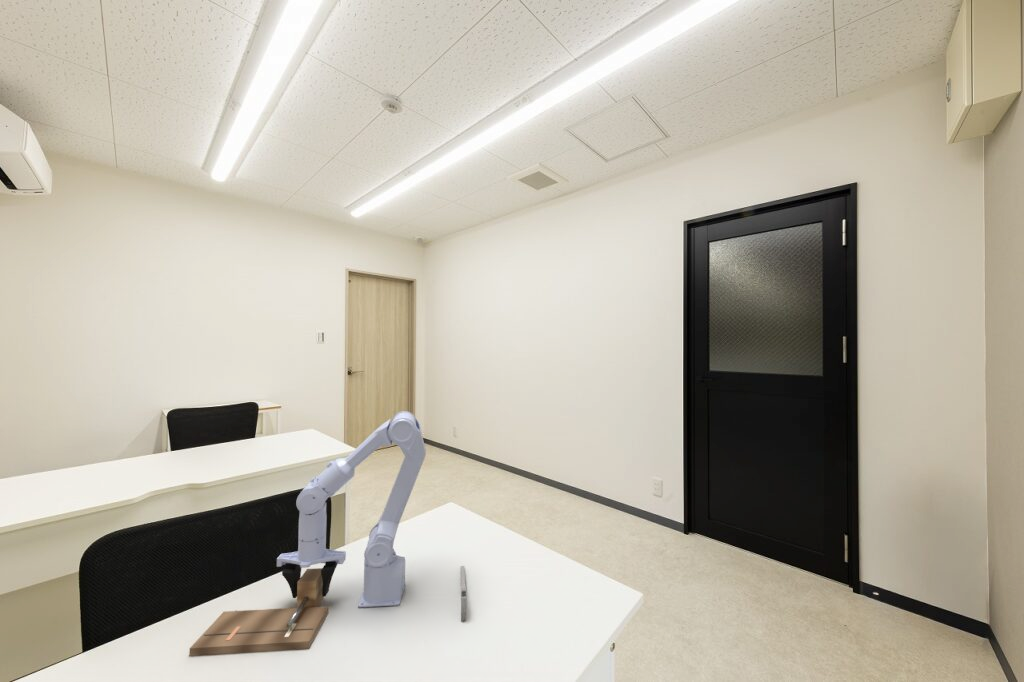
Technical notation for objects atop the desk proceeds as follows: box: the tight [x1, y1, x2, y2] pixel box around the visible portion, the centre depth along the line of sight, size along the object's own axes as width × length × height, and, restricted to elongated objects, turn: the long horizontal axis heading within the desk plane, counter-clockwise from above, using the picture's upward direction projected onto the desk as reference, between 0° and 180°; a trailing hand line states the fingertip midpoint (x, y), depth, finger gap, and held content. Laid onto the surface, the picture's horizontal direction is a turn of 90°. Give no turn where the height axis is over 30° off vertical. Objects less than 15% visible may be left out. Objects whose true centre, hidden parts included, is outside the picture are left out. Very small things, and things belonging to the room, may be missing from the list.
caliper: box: [460, 565, 467, 622], centre depth 93 cm, size 20×1×6 cm, turn 8°
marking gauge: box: [287, 567, 325, 630], centre depth 83 cm, size 4×13×7 cm, turn 6°
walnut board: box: [188, 605, 329, 657], centre depth 78 cm, size 22×10×2 cm, turn 96°
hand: (311, 594), depth 87 cm, fingers open, 6 cm apart
